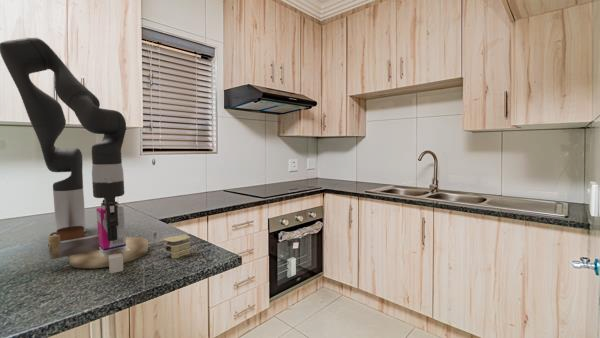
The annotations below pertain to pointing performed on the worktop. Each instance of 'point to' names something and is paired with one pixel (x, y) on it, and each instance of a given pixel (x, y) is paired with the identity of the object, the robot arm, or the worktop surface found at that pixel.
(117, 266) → the white block
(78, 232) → the cup and saucer
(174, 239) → the beige layered block
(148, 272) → the worktop surface
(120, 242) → the supplement box
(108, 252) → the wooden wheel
